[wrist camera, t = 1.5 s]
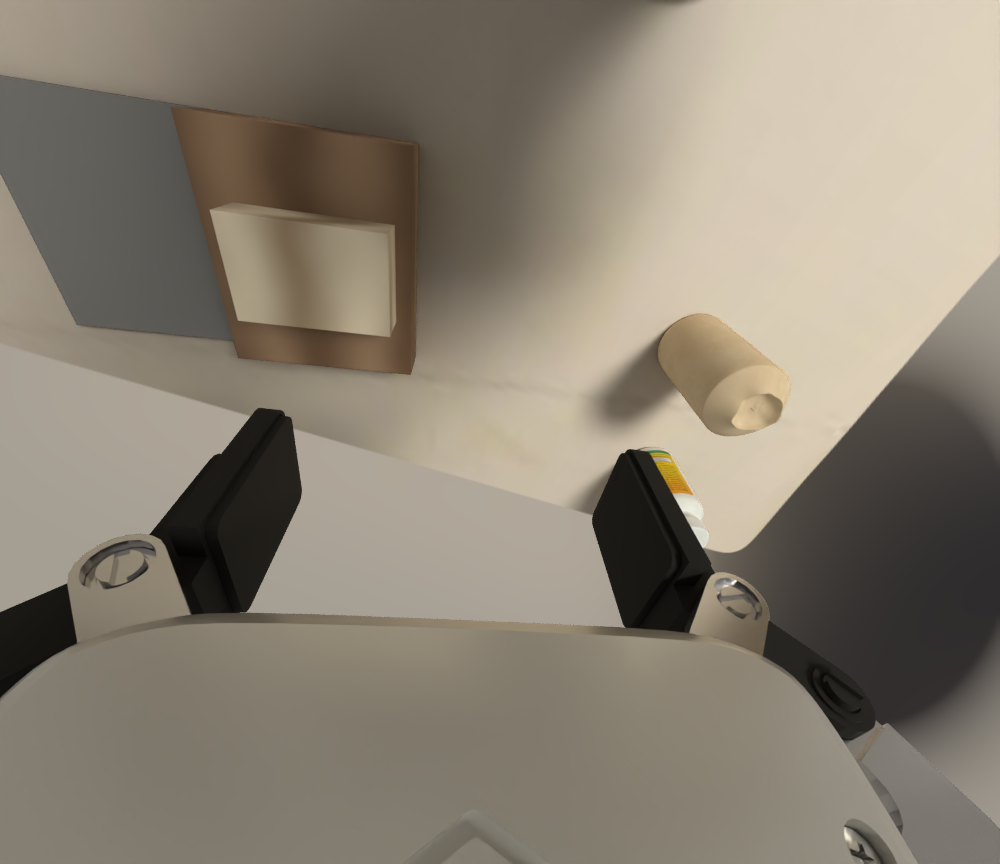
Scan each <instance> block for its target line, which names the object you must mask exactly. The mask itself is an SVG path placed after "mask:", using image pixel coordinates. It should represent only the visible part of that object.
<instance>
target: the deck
mask: <svg viewBox="0 0 1000 864" xmlns="http://www.w3.org/2000/svg"><path fill="white" fill-rule="evenodd" d="M170 108H171V112H172V116H173V119H174V123H175V127H176V130H177V134H178V138H179V141H180V145H181V149H182V153H183V156H184V160H185V164H186V167H187V171H188V175H189V178H190V182H191V186H192V189H193V193H194V197H195V200H196V204H197V208H198V212H199V215H200V219H201V223H202V226H203V230H204V234H205V237H206V241H207V245H208V248H209V252H210V256H211V259H212V263H213V267H214V271H215V274H216V278H217V282H218V285H219V289H220V293H221V296H222V300H223V304H224V307H225V311H226V315H227V318H228V322H229V326H230V329H231V333H232V337H233V341H234V344H235V348H236V352H237V355H238V358H244V359H255V360H265V361H275V362H285V363H296V364H306V365H316V366H326V367H337V368H347V369H357V370H367V371H378V372H388V373H398V374H408V375H411V372H412V368H413V364H414V361H415V357H416V301H417V237H418V173H419V144H416V143H410V142H404V141H398V140H392V139H386V138H380V137H374V136H367V135H361V134H355V133H349V132H343V131H337V130H331V129H325V128H319V127H313V126H307V125H300V124H294V123H288V122H282V121H276V120H270V119H264V118H258V117H252V116H246V115H240V114H233V113H227V112H221V111H215V110H209V109H203V108H186V107H170ZM232 202H233V203H241V204H248V205H255V206H262V207H269V208H276V209H283V210H291V211H298V212H305V213H312V214H319V215H326V216H334V217H341V218H348V219H355V220H362V221H369V222H376V223H384V224H391V225H395V270H396V324H395V326H394V328H393V331H392V333H391V336H390V337H385V336H376V335H366V334H357V333H348V332H338V331H329V330H320V329H311V328H301V327H292V326H283V325H273V324H264V323H255V322H246V321H238V319H237V315H236V311H235V307H234V303H233V299H232V295H231V291H230V288H229V284H228V280H227V276H226V272H225V268H224V264H223V260H222V256H221V252H220V249H219V245H218V241H217V237H216V233H215V229H214V225H213V221H212V217H211V213H210V210H211V209H214V208H217V207H220V206H223V205H226V204H229V203H232Z"/></svg>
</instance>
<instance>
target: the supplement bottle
mask: <svg viewBox="0 0 1000 864" xmlns="http://www.w3.org/2000/svg"><path fill="white" fill-rule="evenodd" d="M640 450H641V451H647V452H649V453H650V454H651V456H652V458H653V460H654V462H655V463H656V465H657V467H658V469H659V471H660V472H661V474H662V476H663V478H664V480H665V481H666V483H667V485H668V487H669V489H670V490H671V492H672V494H673V496H674V497H675V499H676V501H677V503H678V505H679V506H680V508H681V510H682V512H683V514H684V515H685V517H686V519H687V521H688V523H689V524H690V526H691V528H692V530H693V532H694V533H695V535H696V537H697V539H698V541H699V542H700V544H701V546H702V548H704V547H705V546H706V544H707V543H708V540H709V535H708V532H707V530H706V528H705V526H704V524H703V522H702V518H703V507H702V505H701V502H700V501H699V499H698V497H697V496H696V494H695V492H694V490H693V489H692V487H691V485H690V484H689V482H688V480H687V479H686V477H685V475H684V473H683V472H682V470H681V468H680V466H679V465H678V463H677V461H676V459H675V458H674V456H673V455H672V454H671V453H670V452H669V451H667V450H665V449H663V448H658V447H648V448H643V449H640Z"/></svg>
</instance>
